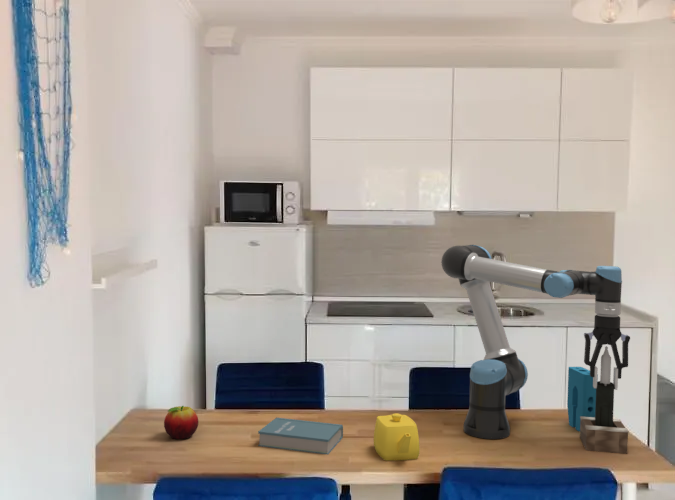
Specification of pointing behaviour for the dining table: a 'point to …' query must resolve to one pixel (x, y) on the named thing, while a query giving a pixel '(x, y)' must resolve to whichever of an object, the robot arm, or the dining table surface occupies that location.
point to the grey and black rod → (604, 394)
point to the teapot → (396, 437)
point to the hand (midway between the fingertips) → (605, 387)
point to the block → (580, 395)
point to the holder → (603, 436)
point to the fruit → (181, 422)
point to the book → (301, 435)
